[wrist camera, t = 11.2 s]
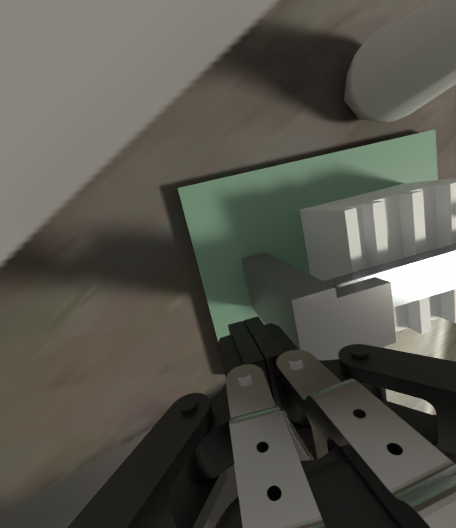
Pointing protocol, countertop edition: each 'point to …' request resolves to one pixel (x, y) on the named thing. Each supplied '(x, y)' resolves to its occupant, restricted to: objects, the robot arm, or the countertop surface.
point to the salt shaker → (404, 64)
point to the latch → (320, 307)
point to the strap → (411, 275)
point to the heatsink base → (277, 211)
